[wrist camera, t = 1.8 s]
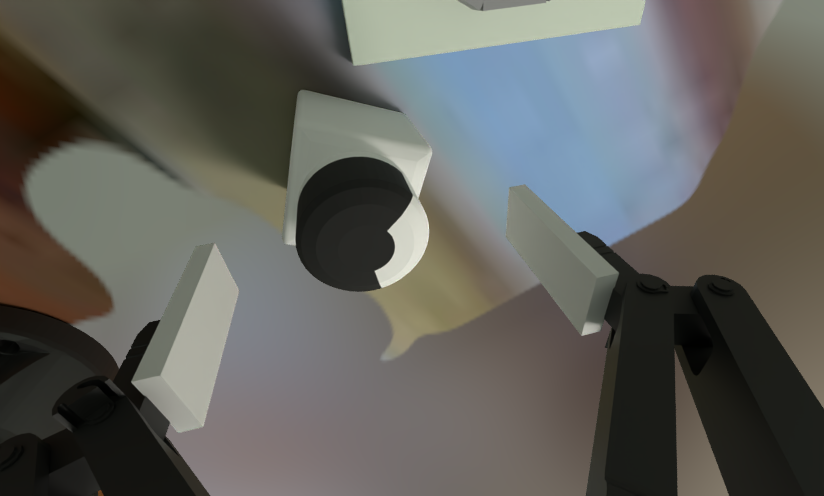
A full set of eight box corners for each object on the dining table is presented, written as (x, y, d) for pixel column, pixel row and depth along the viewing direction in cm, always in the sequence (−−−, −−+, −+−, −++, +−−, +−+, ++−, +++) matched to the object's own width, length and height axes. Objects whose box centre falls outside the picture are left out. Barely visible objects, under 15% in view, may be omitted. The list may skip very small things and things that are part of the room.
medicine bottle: (287, 191, 26) (273, 306, 17) (298, 87, 23) (289, 157, 13) (383, 205, 29) (420, 312, 19) (407, 112, 25) (467, 188, 15)
